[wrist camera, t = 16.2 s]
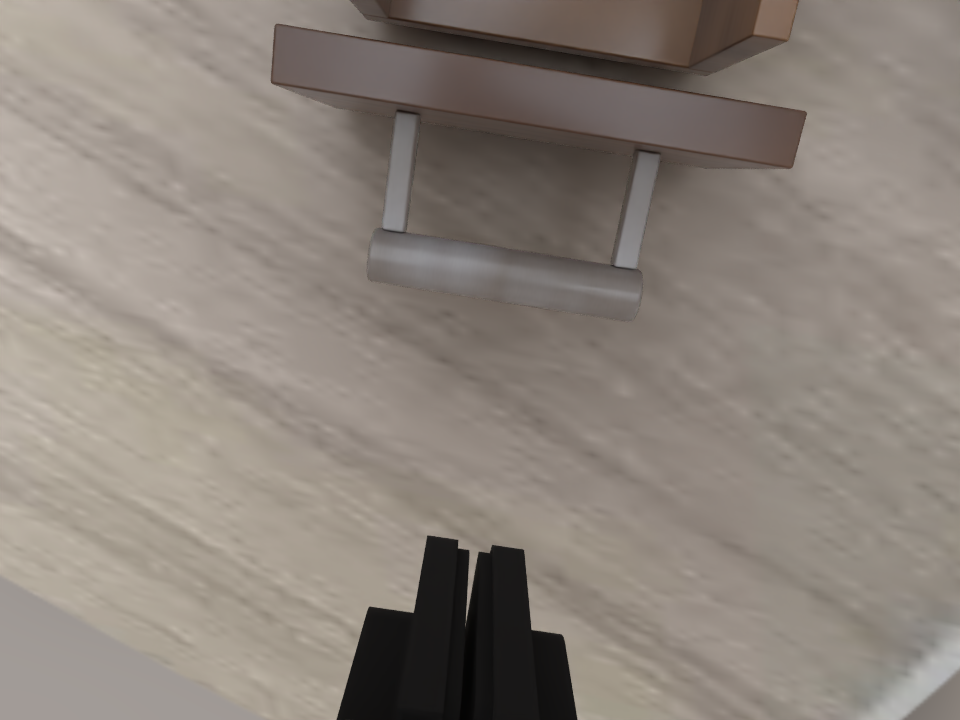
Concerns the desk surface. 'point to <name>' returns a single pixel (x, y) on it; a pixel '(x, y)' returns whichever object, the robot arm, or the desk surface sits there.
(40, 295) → the desk surface
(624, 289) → the drawer
